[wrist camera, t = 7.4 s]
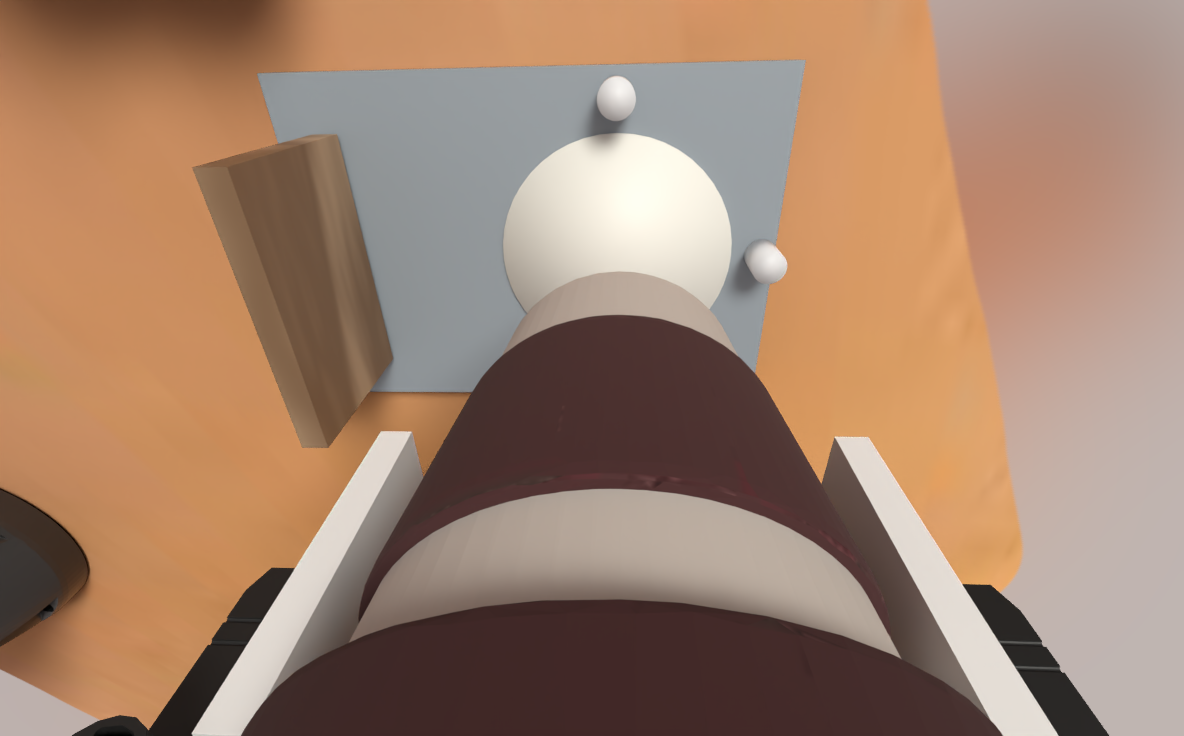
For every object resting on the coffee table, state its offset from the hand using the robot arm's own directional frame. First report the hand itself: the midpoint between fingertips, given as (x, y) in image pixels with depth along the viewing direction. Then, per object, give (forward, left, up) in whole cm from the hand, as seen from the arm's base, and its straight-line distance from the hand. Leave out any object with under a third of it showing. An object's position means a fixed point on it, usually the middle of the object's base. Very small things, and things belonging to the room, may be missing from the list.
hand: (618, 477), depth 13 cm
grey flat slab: (-4, 0, -18) cm, 18 cm away
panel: (-14, 0, -16) cm, 22 cm away
